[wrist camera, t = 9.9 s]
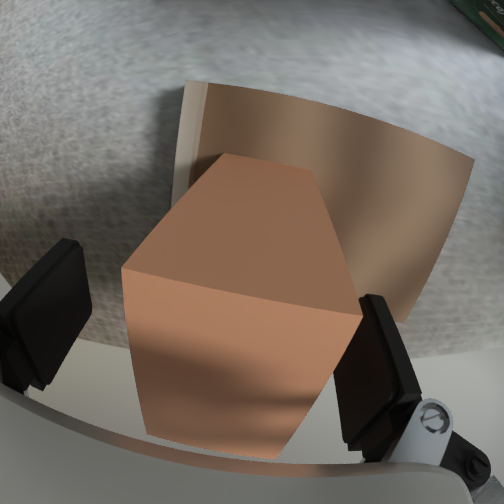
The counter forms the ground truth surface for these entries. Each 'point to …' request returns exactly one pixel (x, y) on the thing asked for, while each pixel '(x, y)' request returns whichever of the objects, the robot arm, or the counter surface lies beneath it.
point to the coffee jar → (485, 17)
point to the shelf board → (338, 177)
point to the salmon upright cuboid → (238, 309)
